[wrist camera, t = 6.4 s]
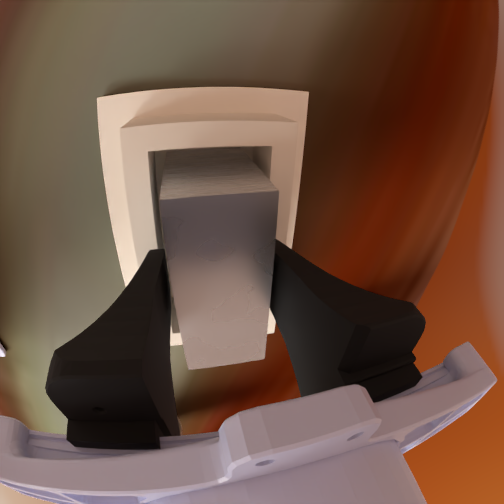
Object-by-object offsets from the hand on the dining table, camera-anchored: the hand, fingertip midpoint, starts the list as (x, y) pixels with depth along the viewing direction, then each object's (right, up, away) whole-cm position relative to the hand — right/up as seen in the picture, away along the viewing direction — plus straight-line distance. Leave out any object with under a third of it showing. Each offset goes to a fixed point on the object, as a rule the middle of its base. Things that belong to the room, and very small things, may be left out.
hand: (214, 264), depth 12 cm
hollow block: (-1, +3, +4) cm, 5 cm away
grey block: (-1, +2, +3) cm, 4 cm away
